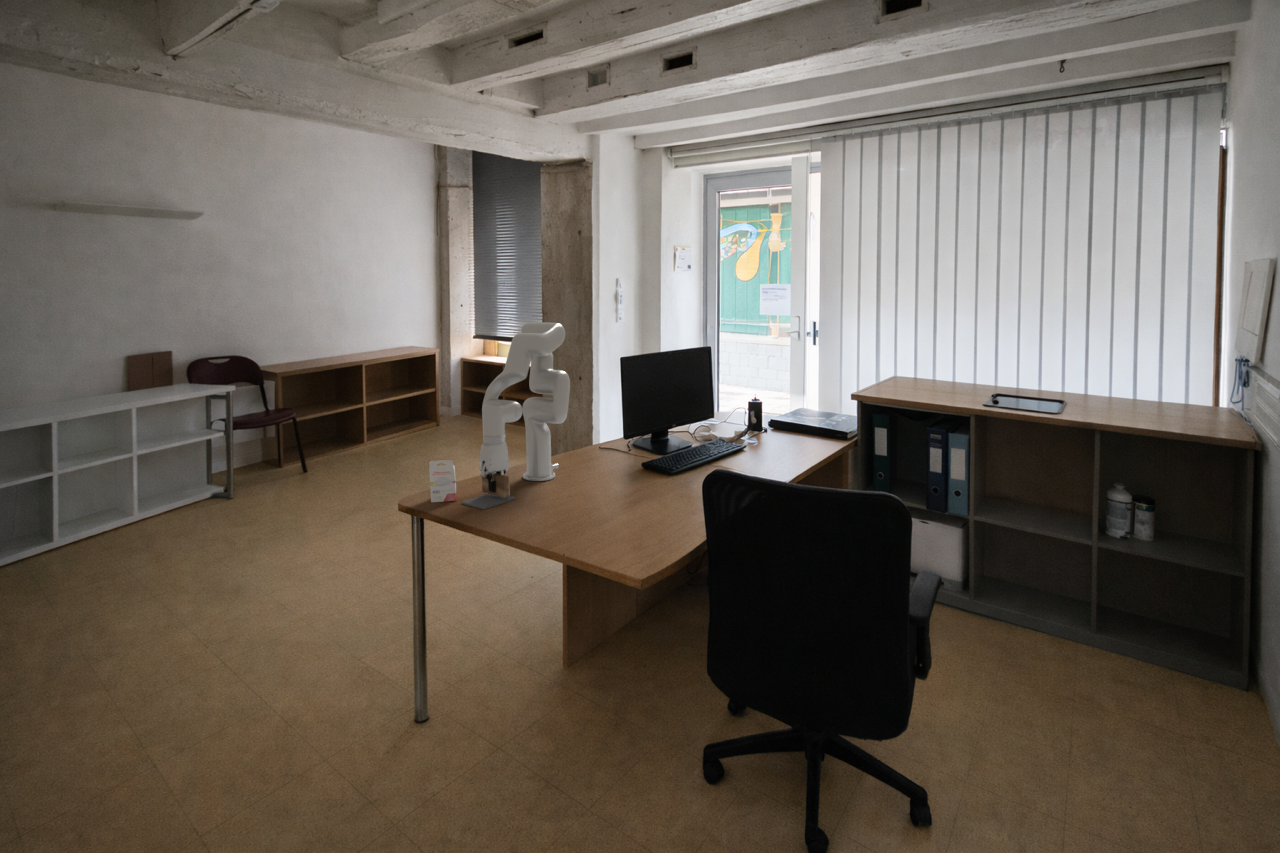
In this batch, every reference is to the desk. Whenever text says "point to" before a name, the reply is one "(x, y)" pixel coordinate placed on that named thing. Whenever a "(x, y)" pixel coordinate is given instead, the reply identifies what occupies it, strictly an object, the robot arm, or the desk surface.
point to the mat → (487, 501)
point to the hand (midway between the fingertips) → (495, 490)
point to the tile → (497, 485)
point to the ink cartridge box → (442, 481)
